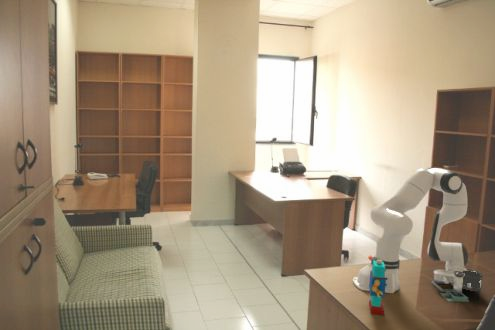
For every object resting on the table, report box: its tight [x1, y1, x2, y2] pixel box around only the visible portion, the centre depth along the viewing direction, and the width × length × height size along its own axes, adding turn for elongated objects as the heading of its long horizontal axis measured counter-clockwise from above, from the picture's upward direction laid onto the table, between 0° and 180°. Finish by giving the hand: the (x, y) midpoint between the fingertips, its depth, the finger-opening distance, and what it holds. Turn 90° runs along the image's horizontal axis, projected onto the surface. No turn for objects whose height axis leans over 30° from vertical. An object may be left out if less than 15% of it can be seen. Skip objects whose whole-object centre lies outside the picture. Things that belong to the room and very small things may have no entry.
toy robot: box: [368, 255, 386, 316], centre depth 178 cm, size 12×6×25 cm, turn 168°
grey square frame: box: [431, 280, 454, 293], centre depth 205 cm, size 10×10×2 cm
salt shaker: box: [452, 271, 465, 297], centre depth 193 cm, size 4×4×12 cm
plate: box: [439, 291, 470, 302], centre depth 194 cm, size 10×8×2 cm
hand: (458, 284), depth 193 cm, fingers open, 8 cm apart
